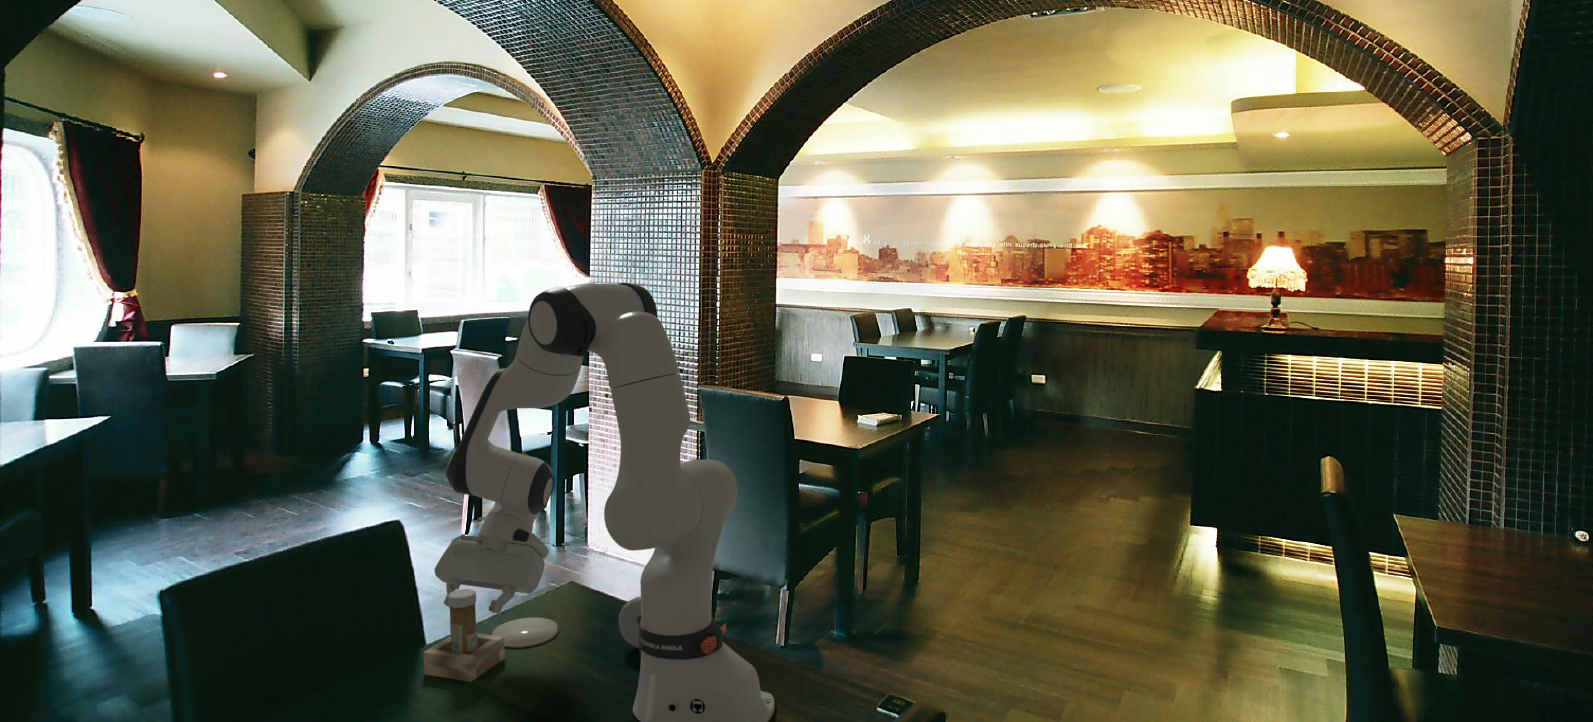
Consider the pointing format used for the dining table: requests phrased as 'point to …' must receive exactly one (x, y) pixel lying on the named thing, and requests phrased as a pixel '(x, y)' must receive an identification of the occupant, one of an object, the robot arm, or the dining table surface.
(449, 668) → the holder collar
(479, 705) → the dining table surface
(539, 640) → the white domed disc
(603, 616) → the dining table surface
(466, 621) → the sprinkles bottle
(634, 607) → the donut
